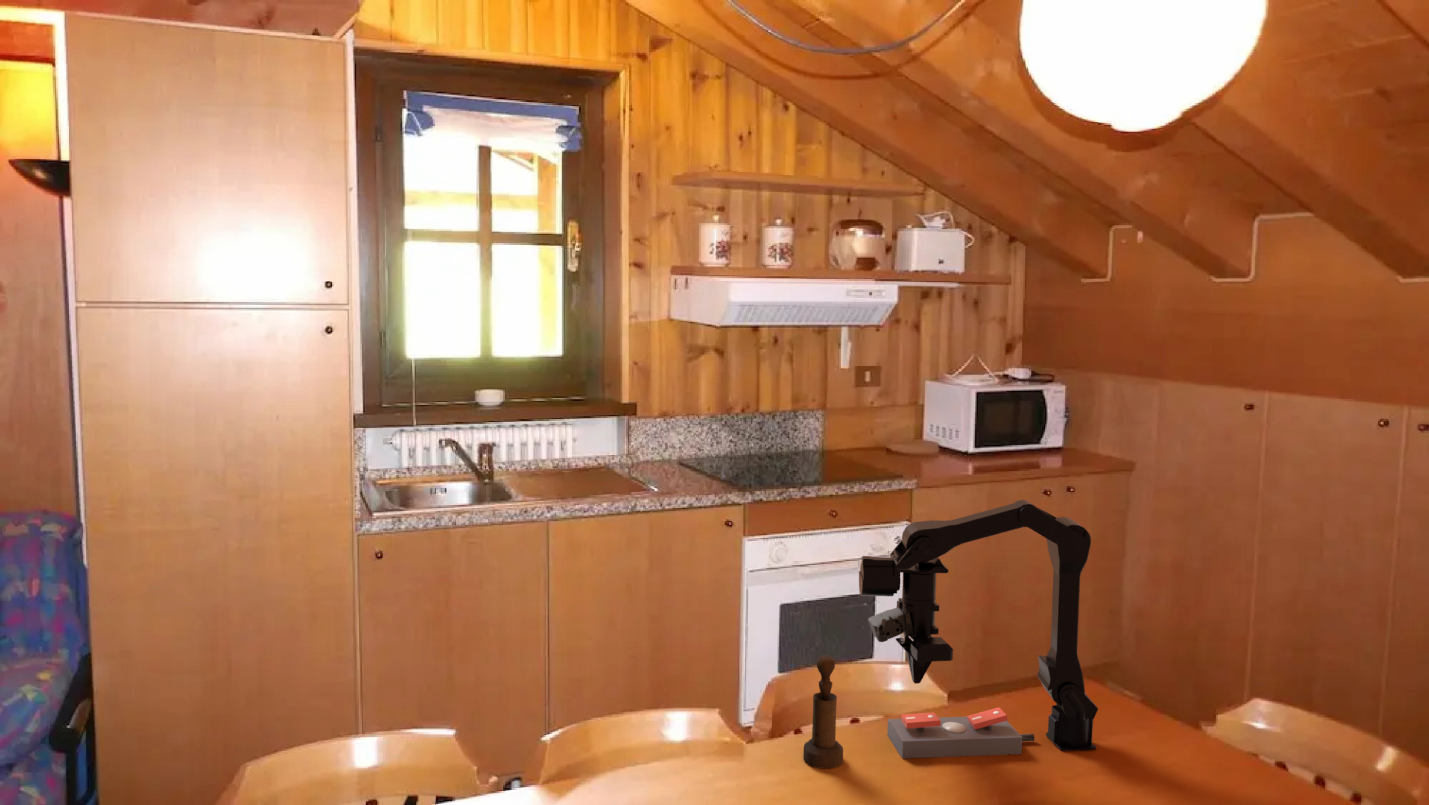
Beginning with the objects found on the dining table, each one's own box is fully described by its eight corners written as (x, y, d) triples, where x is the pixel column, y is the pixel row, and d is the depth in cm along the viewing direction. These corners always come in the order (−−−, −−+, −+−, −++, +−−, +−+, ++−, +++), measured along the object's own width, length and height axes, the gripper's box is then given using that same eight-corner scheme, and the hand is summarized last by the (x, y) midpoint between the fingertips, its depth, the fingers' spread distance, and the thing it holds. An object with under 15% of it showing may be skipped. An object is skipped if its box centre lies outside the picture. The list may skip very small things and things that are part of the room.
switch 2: (1000, 712, 180) (998, 706, 179) (1007, 720, 176) (1006, 714, 176) (967, 721, 179) (966, 715, 179) (974, 729, 176) (973, 723, 176)
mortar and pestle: (842, 752, 174) (845, 650, 172) (843, 770, 167) (846, 664, 165) (803, 750, 174) (806, 648, 172) (802, 767, 168) (805, 662, 166)
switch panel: (1022, 730, 183) (1023, 711, 183) (1043, 753, 175) (1044, 733, 174) (887, 735, 181) (888, 715, 180) (902, 758, 172) (902, 738, 171)
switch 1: (934, 717, 178) (934, 712, 178) (940, 726, 175) (940, 720, 175) (901, 720, 178) (901, 714, 178) (906, 728, 174) (906, 722, 174)
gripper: (859, 582, 185) (857, 665, 187) (890, 614, 166) (887, 706, 168) (918, 580, 186) (916, 663, 188) (955, 612, 168) (952, 703, 170)
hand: (916, 682), depth 178 cm, fingers closed
